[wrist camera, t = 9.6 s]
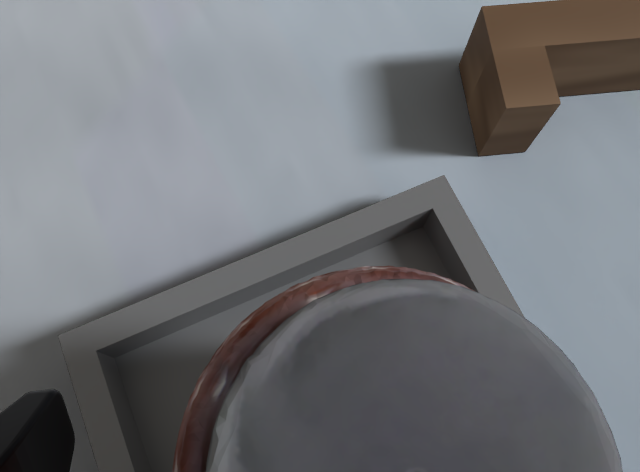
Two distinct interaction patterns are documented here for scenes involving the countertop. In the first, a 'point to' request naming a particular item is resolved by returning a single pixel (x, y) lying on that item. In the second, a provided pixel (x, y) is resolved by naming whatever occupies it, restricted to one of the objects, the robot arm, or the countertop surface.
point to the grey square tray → (237, 304)
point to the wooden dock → (544, 64)
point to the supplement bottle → (391, 386)
